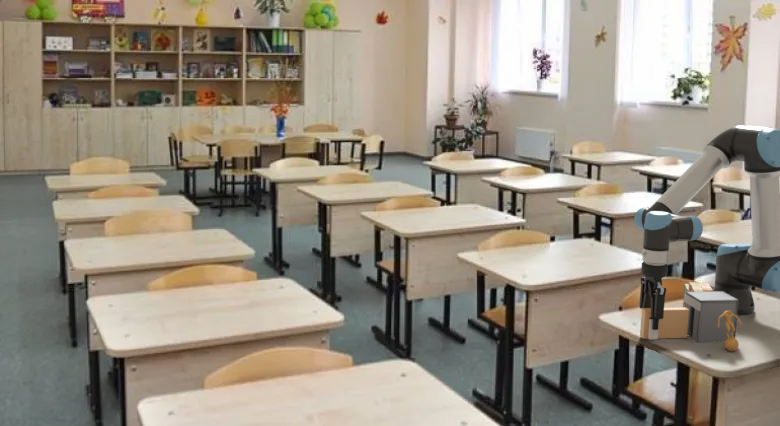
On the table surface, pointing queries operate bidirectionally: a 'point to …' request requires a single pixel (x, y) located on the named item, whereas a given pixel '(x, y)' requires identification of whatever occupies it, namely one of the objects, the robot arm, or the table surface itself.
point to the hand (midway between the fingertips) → (649, 335)
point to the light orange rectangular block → (667, 323)
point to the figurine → (729, 343)
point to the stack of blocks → (696, 288)
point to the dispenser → (709, 315)
